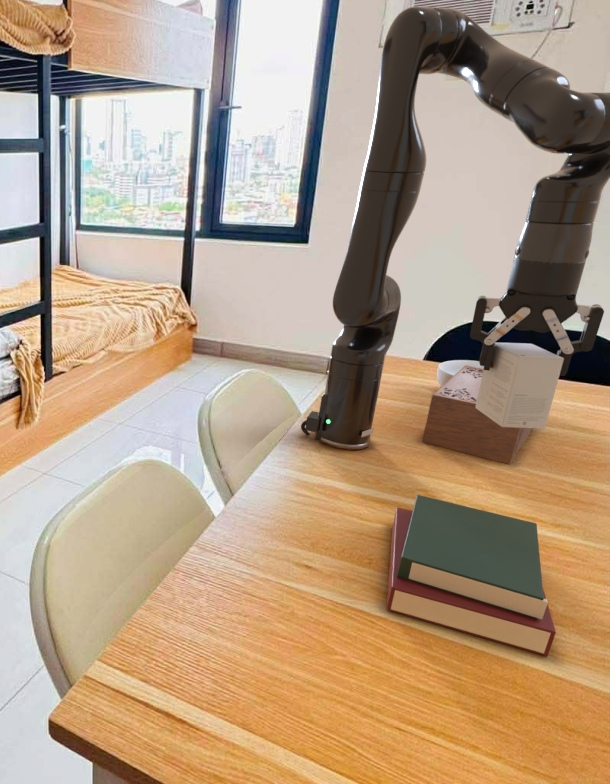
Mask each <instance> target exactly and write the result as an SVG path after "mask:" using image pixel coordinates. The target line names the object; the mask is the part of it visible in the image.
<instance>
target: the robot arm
mask: <svg viewBox="0 0 610 784" xmlns="http://www.w3.org/2000/svg"><path fill="white" fill-rule="evenodd" d="M380 57H381V58H380V65H379V66H380V67H379V73H378V74H379V76H378V86H377V94H376V103H375V110H374V117H373V121H372V129H371V133H370V139H369V144H368V149H367V154H366V158H365V162H364V165H363V171H362V176H361V180H360V184H359V190H358V195H357V201H356V207H355V212H354V217H353V220H352V225H351V231H350V232H351V233H350V237H349V241H348V246H347V251H346V254H345V257H344V261H343V264H342V267H341V269H340V273H339V276H338V279H337V283H336V285H335V289H334V292H333V297H332V309H333V310H332V311H333V312H334V315H335V317H336V319H337V321H339V322H340V324H342V325H343V326H342V330H341V331H340V333H339V335H338V336H337V337H336V339H334V341H333V343H332V346H331V349H330V358H329V364H328V369H327V376H326V383H325V389H324V392H323V394H322V395H321V398H320V404H319V411H314V410H312V411H311V412H310V413H309V414H308V415H307V417H306V420H304V421H302V423H300V424H301V425H300V430H301V431H302V433H303V434H304V435H305V436H306V437H309V436H311V433H315V436H314V440H315V441H318V442H321V443H323V444H325V445H327V446H330V447H332V448H337V449H342V450H351V451H353V450H362V449H366V448H368V447H369V446H370V441H371V435H372V434H374V430H375V427H373V422H374V417H375V412H376V406H377V402H378V397H379V391H380V386H381V380H382V376H383V370H384V365H385V359H386V356H387V353H388V351H389V350H390V347H391V346H392V343H393V341H394V335H395V333H396V327H397V323H398V319H399V314H400V311H401V304H402V292H401V288H400V286H399V284H398V282H397V281H396V280H395V279H394V278H393V277H392V276H390V275H389V274H388V269H389V263H390V260H391V256H392V254H393V253H392V252H393V250H394V248H395V246H396V243H397V241H398V240H399V238H400V236H401V234H402V232H403V230H404V229H405V227H406V225H407V224H408V221H409V219H410V218H411V216H412V214H413V211H414V210H415V207H416V205H417V202H418V200H419V196H420V192H421V189H422V185H423V180H424V175H425V172H426V167H427V152H426V147H425V143H424V139H423V136H422V134H421V133H422V132H421V131H420V127H419V124H418V120H417V116H416V111H415V110H416V108H415V106H416V105H415V103H416V102H415V101H416V94H417V86H418V81H419V77H420V75H434V74H441V75H446V76H450V77H453V78H457V79H460V80H462V81H464V82H466V83H468V84H469V85H470V86H471V90H472V92H473V94H474V96H475V97H476V99H477V100H478V101H479V102H480V103H481V104H482V105H483V106H485V108H487V109H488V110H490V111H492V112H494V113H495V114H497V115H499V116H501V117H502V118H504V119H506V120H507V121H509V122H511V123H514V126H515V127H516V128H517V130H518V131H519V132H520V133H521V134H522V136H523V137H524V138H525V139H526V141H528V143H530V144H531V145H532V146H534V147H536V148H537V149H540V150H542V151H545V152H547V153H550V154H556V155H557V154H558V155H561V154H562V155H564V154H565V155H566V154H567V157H566V158H565V160H564V162H563V163H562V165H561V167H560V168H559V170H558V171H556V172H554V173H552V174H549V175H545V176H543V177H541V178H540V179H538V180H537V181H536V183H535V185H534V187H533V190H532V194H531V196H530V201H529V204H528V208H527V212H526V217H525V222H524V224H523V227H522V230H521V232H520V235H519V237H518V240H517V244H516V248H515V249H514V257H513V261H512V265H511V270H510V274H509V278H508V281H507V282H508V283H507V286H506V290H505V293H504V294H503V295H502V297H500V298H497V297H487V296H486V295H480V296H478V297H477V299H476V303H475V308H474V313H473V318H472V323H471V327H470V332H469V338H470V339H471V340H476V341H478V342H480V343H481V344H482V348H481V352H480V356H479V360H478V361H479V363H480V366H484V370H487V371H489V370H490V366H491V362H492V358H493V354H494V349H495V342H496V343H497V341H498V340H500V338H502V337H503V336H505V335H506V334H507V333H508V332H510V331H511V330H512V329H516V331H521V332H526V331H527V332H528V331H532V332H536V333H540V334H541V333H542V334H546V333H547V332H551V333H552V335H553V337H554V339H555V341H556V342H557V344H558V346H559V348H560V349H558V350H557V352H556V355H558V356H560V357H562V358H564V360H563V364H562V367H561V371H560V375H559V377H565V376H566V375H567V374H568V370H569V367H570V365H571V360H572V357H573V355H575V354H576V353H580V352H590V351H592V350H593V348H594V345H595V341H596V339H597V336H598V332H599V329H600V327H601V323H602V320H603V317H604V313H605V310H604V308H603V307H602V306H601V305H600V304H598V303H597V304H596V303H595V304H593V305H585V304H578V303H577V295H578V291H579V287H580V284H581V280H582V277H583V274H584V273H583V272H584V269H585V266H586V261H587V259H588V257H589V255H590V248H591V243H592V240H593V239H592V237H593V228H594V225H595V223H594V222H595V220H596V216H597V213H598V209H599V206H600V201H601V199H602V192H603V190H604V188H605V186H607V183H608V182H609V180H610V92H581V91H577V90H574V89H571V84H570V81H569V79H568V78H567V76H565V75H564V74H563V73H561V72H560V71H558V70H556V69H555V68H552V67H550V66H548V65H546V64H544V63H541V62H539V61H538V60H535V59H533V58H530V57H529V56H527V55H524V54H523V53H521V52H518V51H516V50H514V49H512V48H510V47H508V46H507V45H505V44H503V43H502V42H500V41H499V40H497V39H496V38H495V37H493V36H492V35H491V34H489V33H488V32H487V31H486V30H485V29H484V28H482V26H480V25H479V24H478V23H477V22H476V21H475V20H473V18H471V17H470V16H469V15H467V14H466V13H464V12H462V11H461V10H458V9H455V8H447V7H432V6H431V7H430V6H411V7H407V8H406V9H403V10H402V11H401V12H399V13H398V14H397V15H396V17H395V18H394V19H393V21H392V23H391V24H390V26H389V28H388V31H387V33H386V35H385V38H384V42H383V46H382V51H381V56H380ZM387 274H388V275H387ZM497 307H499V309H500V310H501V312H502V314H503V315H504V317H503V318H502V319H501V320H500V321H499V322H498V323H497V324H496V325H495V326H494V327H493V328H492V329H491V330H490V331H489V332H486V331H484V330H482V328H483V324H484V318H485V314H490V313H491V312H492V311H493V310H494V308H497ZM575 314H579V315H580V316H579V317H580V320H581V321H582V322H583V323H584V326H583V328H582V332H581V336H580V337H579V338H580V339H579V340H574V341H571V340H570V338H569V336H568V333H567V331H566V330H565V328H564V326H563V323H565V322H566V321H567V320H568V319H570V318H571V317H572V316H574V315H575ZM310 432H311V433H310Z"/></svg>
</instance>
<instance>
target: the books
mask: <svg viewBox="0 0 610 784" xmlns="http://www.w3.org/2000/svg"><path fill="white" fill-rule="evenodd" d="M537 525H538V524H537V523H536V522H532V521H529V520H524V519H519V518H515V517H512V516H508V515H504V514H499V513H495V512H491V511H487V510H484V509H483V510H482V509H478V508H474V507H471V506H466V505H462V504H457V503H453V502H449V501H445V500H441V499H436V498H433V497H429V496H426V495H425V496H424V495H421V494H416V497H415V501H414V505H413V509H412V510H411V509H407V508H402V507H398V506H397V507H396V508H395V512H394V518H393V522H392V530H391V540H390V541H391V543H390V555H389V571H388V583H387V584H388V585H387V598H386V599H387V600H386V611H389V612H392V613H396V614H399V615H403V616H406V617H409V618H413V619H415V620H416V619H417V620H421V621H423V622H427V623H430V624H433V625H437V626H441V627H444V628H447V629H451V630H454V631H458V632H460V633H461V632H462V633H464V634H468V635H472V636H475V637H478V638H482V639H486V640H489V641H493V642H496V643H499V644H503V645H506V646H510V647H513V648H516V649H520V650H523V651H527V652H529V653H532V654H533V653H534V654H537V655H541V656H544V657H549V653H550V650H551V647H552V645H553V642H554V639H555V637H556V634H557V631H556V627H555V624H554V621H553V617H552V613H551V611H550V608H549V607H550V606H549V604H548V603H549V600H548V599H547V596H546V593H545V590H544V587H543V575H542V567H541V564H542V563H541V555H540V546H539V533H538V526H537Z"/></svg>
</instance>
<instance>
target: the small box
mask: <svg viewBox="0 0 610 784" xmlns="http://www.w3.org/2000/svg"><path fill="white" fill-rule="evenodd" d="M563 360H564V358H562V357H560V356H558V355H557V353H556V354H555V353H553V352H551V351H548V350H547V349H544V348H542V347H540V346H538V345H536V344H534V343H525V342H523V343H522V342H497V341H496V342H495V349H494V354H493V358H492V362H491V366H490V370H489V371H487V370H484V372H483V376H482V381H481V385H480V389H479V394H478V398H477V402H476V406H475V407H476V409H478V410H479V411H481V412H482V413H483V414H485V415H486V416H487V417H489V418H490V419H492V420H493V421H494V422H496V423H497V424H499V425H500V426H501V427H515V428H532V429H541V430H544V429H546V428H547V427H546V426H547V423H548V419H549V415H550V412H551V408H552V405H553V401H554V396H555V393H556V389H557V386H558V383H559V379H560V376H559V375H560V371H561V367H562V364H563Z"/></svg>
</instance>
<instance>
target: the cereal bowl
mask: <svg viewBox="0 0 610 784" xmlns="http://www.w3.org/2000/svg"><path fill="white" fill-rule="evenodd" d="M479 361H480V360H471V359H470V360H469V359H453V360H447V361H443V362H441V363H439V364H438V366H437V370H436V379H437V383H438V384H439V387H440V388H441V387H442V386H443V385H444V384H445V383H446V382H447V381H448V380H450V379H451V378H452V377H453V376H454V375H455V374H456V373H457V372H458V371H460V370H461V369H462V368H463V367H464V366H465V365H466V366H471V367H477V368H483V369H484V366H480V363H479Z"/></svg>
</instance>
